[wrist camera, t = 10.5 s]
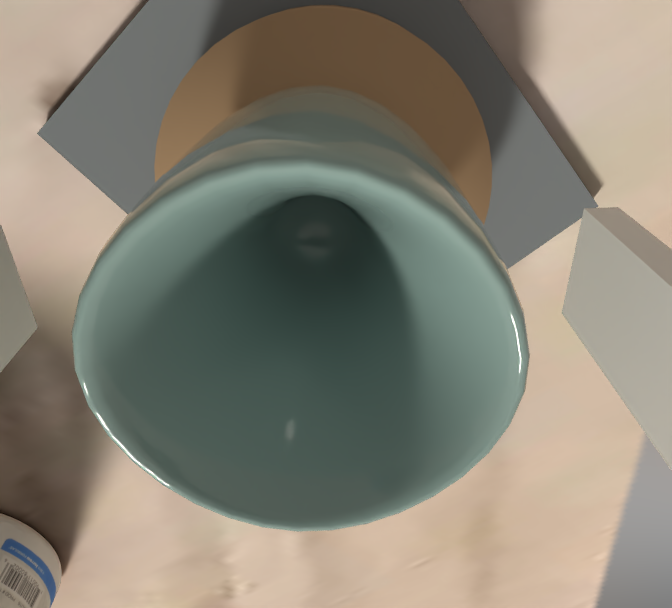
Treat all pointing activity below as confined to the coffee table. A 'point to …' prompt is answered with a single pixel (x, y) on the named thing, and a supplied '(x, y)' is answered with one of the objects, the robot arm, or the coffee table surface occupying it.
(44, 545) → the supplement tub
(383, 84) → the stand
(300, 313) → the cup
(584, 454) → the coffee table surface
